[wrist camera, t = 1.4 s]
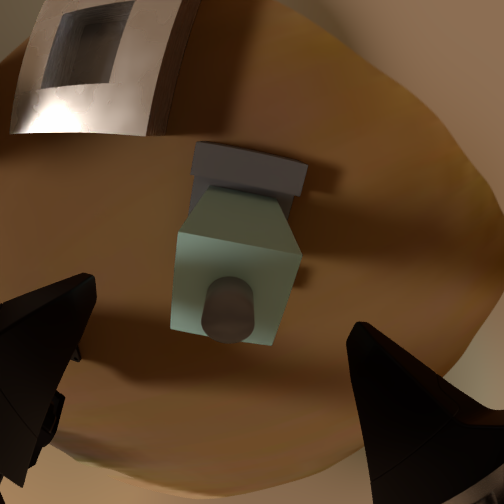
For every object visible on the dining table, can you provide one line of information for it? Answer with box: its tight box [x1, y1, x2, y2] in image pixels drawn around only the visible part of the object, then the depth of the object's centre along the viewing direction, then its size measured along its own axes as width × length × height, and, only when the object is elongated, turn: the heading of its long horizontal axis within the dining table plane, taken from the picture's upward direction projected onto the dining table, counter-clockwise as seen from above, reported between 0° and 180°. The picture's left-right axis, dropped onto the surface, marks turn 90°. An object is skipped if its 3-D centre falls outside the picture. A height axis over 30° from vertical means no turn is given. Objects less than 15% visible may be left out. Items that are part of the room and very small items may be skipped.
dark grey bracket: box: [188, 141, 308, 220], centre depth 16 cm, size 9×6×2 cm, turn 168°
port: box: [9, 0, 201, 136], centre depth 11 cm, size 11×11×4 cm
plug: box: [170, 185, 303, 346], centre depth 12 cm, size 4×4×10 cm
